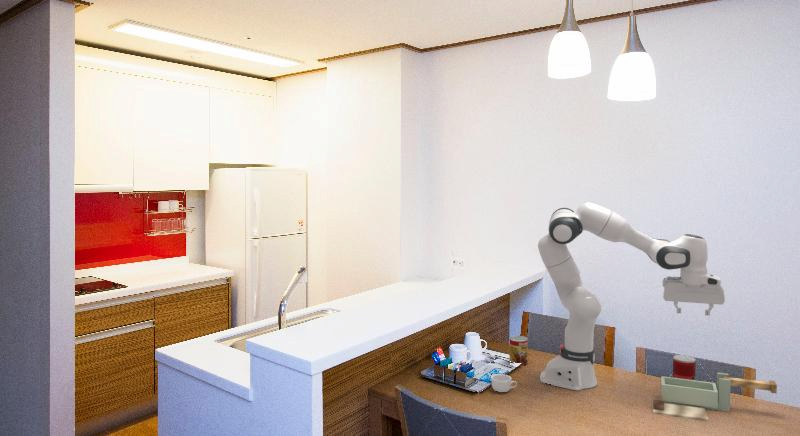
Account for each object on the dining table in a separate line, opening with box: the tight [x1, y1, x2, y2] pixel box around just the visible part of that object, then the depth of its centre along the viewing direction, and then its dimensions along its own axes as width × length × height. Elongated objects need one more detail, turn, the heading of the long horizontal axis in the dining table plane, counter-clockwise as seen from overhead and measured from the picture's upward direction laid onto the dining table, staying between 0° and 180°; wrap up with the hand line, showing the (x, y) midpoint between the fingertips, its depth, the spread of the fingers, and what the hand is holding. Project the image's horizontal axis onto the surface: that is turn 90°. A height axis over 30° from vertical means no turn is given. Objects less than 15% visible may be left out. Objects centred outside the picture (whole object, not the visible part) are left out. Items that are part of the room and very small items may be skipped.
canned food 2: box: [672, 354, 697, 380], centre depth 218 cm, size 8×8×11 cm
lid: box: [651, 394, 709, 422], centre depth 194 cm, size 17×9×5 cm, turn 68°
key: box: [724, 376, 778, 395], centre depth 193 cm, size 16×4×3 cm, turn 66°
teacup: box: [490, 373, 518, 393], centre depth 215 cm, size 10×8×5 cm
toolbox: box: [660, 372, 732, 413], centre depth 201 cm, size 22×9×12 cm, turn 66°
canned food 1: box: [509, 335, 529, 367], centre depth 243 cm, size 8×8×12 cm
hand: (693, 314), depth 204 cm, fingers open, 8 cm apart
